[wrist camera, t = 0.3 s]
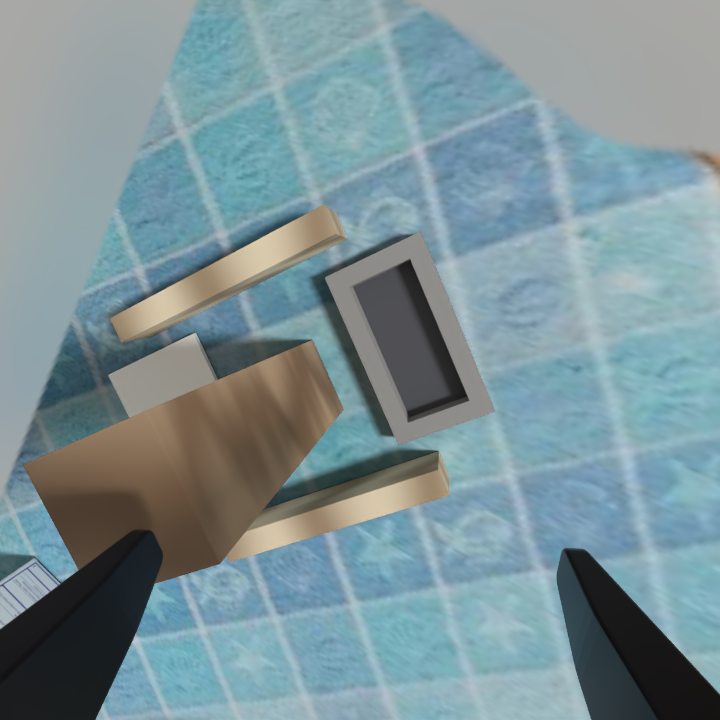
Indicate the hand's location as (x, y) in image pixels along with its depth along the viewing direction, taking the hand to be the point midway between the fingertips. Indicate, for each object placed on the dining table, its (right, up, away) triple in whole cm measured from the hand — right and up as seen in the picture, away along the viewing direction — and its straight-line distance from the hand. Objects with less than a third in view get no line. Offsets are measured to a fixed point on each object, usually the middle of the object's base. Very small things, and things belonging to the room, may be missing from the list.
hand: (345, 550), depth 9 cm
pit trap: (+3, +5, +14) cm, 15 cm away
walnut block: (-4, +2, +16) cm, 16 cm away
